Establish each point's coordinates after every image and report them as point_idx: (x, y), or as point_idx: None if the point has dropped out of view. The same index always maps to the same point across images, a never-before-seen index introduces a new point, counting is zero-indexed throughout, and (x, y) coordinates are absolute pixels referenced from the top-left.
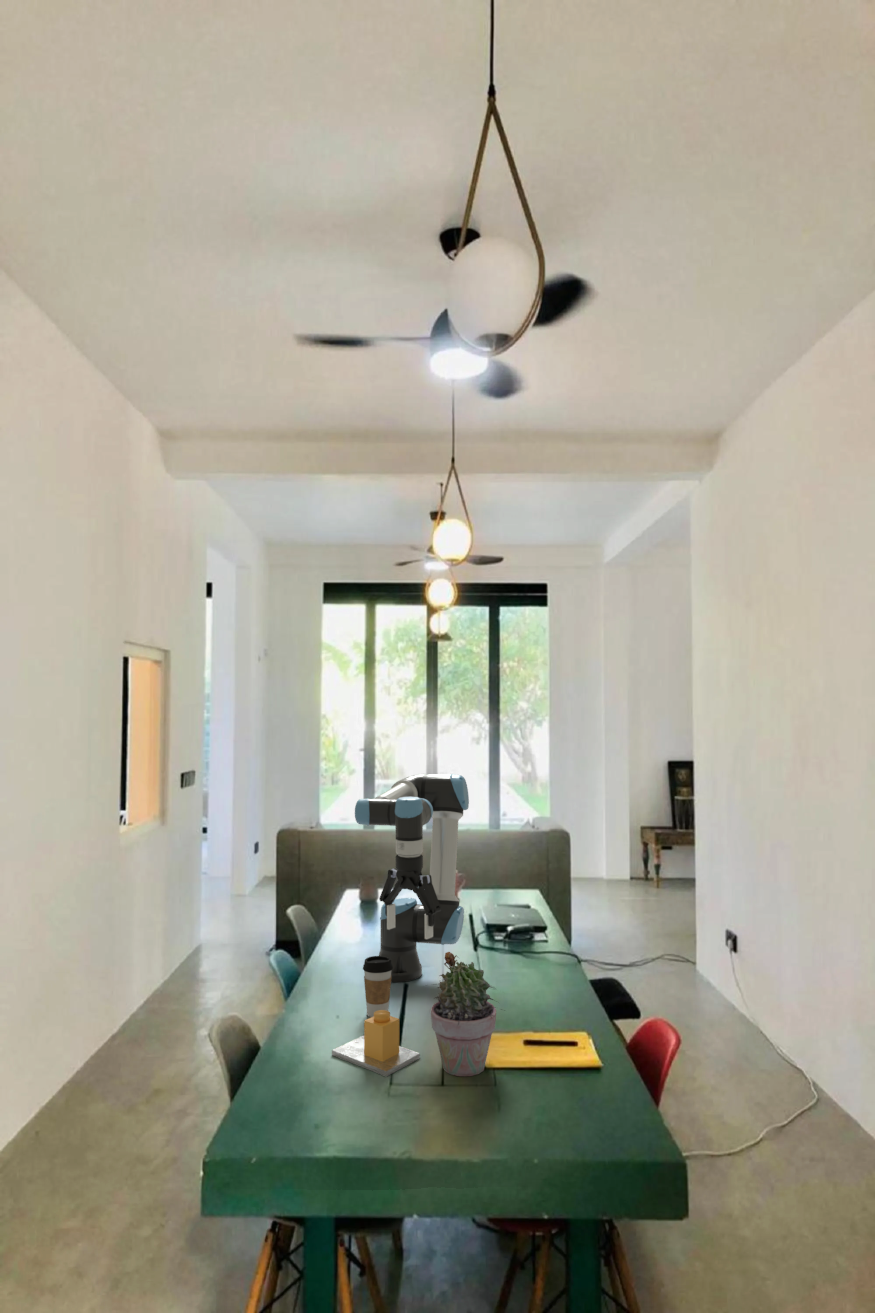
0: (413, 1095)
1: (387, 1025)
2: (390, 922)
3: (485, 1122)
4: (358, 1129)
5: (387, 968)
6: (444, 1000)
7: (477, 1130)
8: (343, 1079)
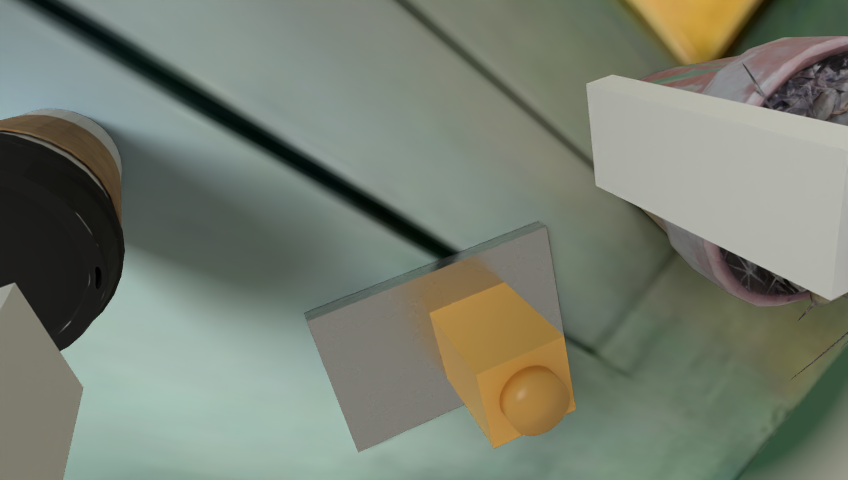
0: (665, 326)
1: (570, 387)
2: (55, 422)
3: None
4: (676, 464)
5: (113, 227)
6: None
7: None
8: None
